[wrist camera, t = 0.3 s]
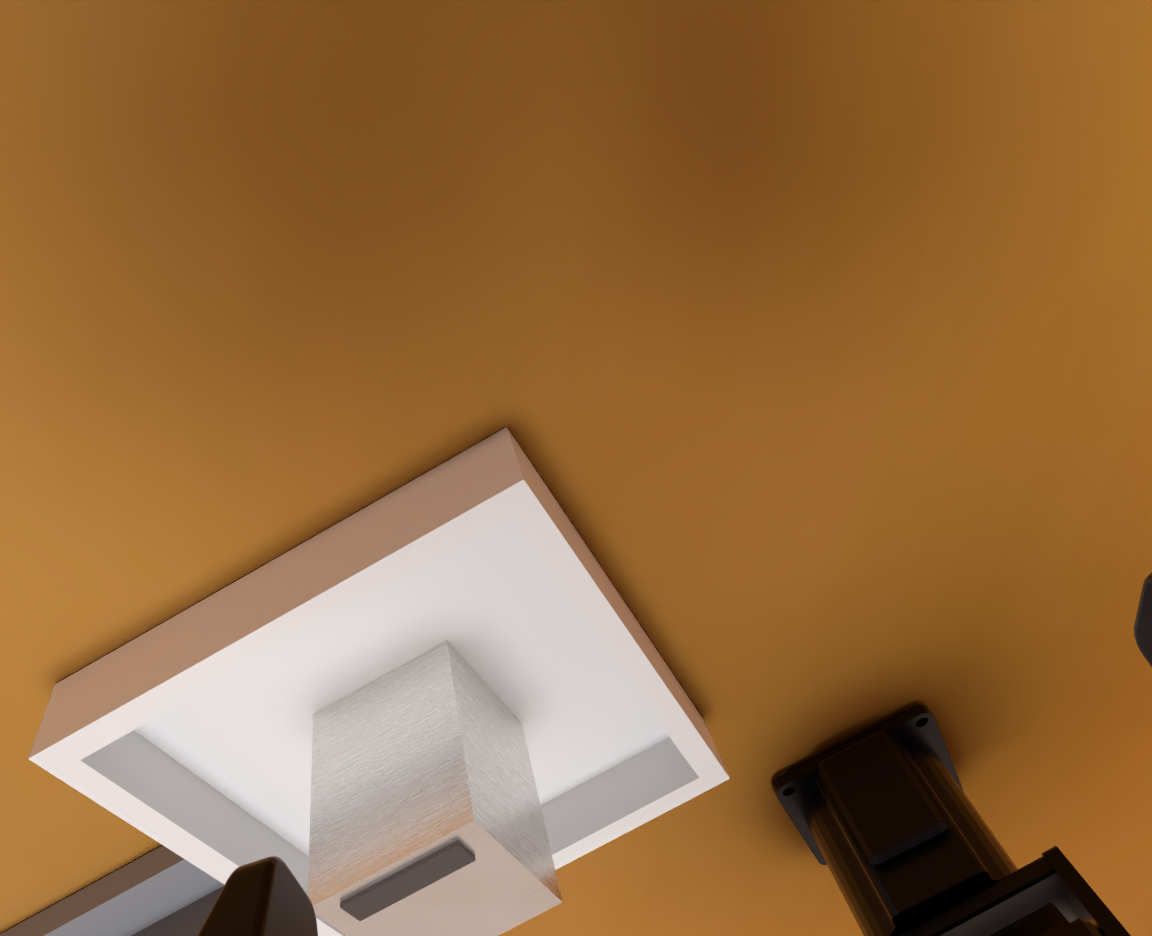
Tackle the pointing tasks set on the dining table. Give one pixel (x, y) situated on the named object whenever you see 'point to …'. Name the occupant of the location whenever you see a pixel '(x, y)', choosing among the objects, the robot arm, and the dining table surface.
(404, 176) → the dining table surface
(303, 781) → the white square tray
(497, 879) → the billet loose
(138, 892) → the plate
